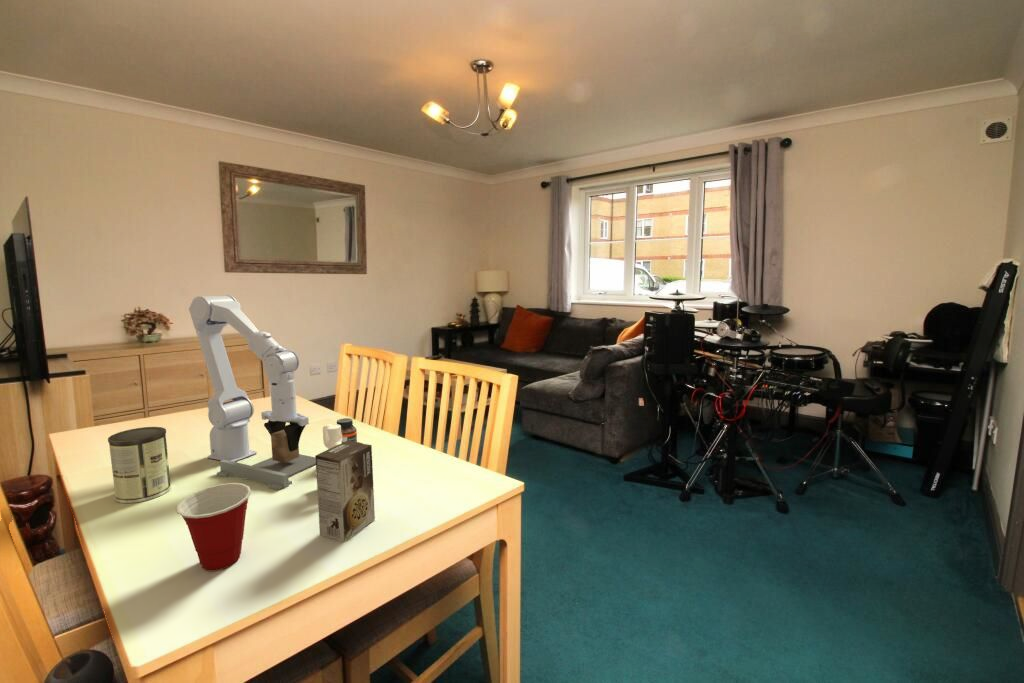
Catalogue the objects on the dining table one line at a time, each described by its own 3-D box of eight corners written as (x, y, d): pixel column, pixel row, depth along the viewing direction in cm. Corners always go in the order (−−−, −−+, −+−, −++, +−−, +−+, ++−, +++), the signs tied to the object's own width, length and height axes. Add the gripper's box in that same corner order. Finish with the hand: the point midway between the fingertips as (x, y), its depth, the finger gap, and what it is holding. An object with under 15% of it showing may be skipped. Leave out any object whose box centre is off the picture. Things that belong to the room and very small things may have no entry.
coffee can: (131, 485, 113) (126, 427, 111) (180, 482, 115) (175, 425, 113) (103, 505, 103) (96, 442, 101) (156, 502, 105) (150, 439, 103)
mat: (248, 468, 123) (248, 466, 123) (286, 453, 134) (286, 451, 134) (288, 477, 118) (288, 475, 118) (324, 461, 129) (324, 459, 129)
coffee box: (350, 514, 100) (347, 439, 98) (375, 520, 98) (373, 443, 95) (317, 535, 92) (313, 454, 90) (344, 542, 89) (340, 459, 87)
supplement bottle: (350, 465, 126) (348, 424, 124) (329, 464, 127) (327, 422, 125) (361, 457, 131) (360, 417, 130) (342, 455, 133) (340, 416, 131)
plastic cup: (166, 572, 80) (160, 504, 78) (225, 539, 90) (221, 479, 88) (213, 587, 76) (207, 516, 74) (269, 551, 86) (265, 488, 84)
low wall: (215, 474, 119) (214, 463, 119) (230, 469, 123) (229, 457, 123) (279, 490, 111) (278, 478, 110) (293, 483, 114) (292, 471, 114)
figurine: (329, 499, 106) (326, 434, 105) (313, 485, 113) (310, 424, 111) (360, 490, 111) (358, 427, 109) (343, 477, 118) (341, 418, 116)
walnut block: (272, 460, 124) (270, 434, 123) (286, 454, 128) (285, 429, 127) (285, 462, 123) (283, 436, 122) (299, 456, 127) (297, 431, 126)
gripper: (249, 398, 123) (253, 449, 125) (291, 404, 117) (294, 458, 119) (273, 392, 129) (276, 441, 131) (313, 398, 124) (316, 448, 125)
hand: (286, 448), depth 125 cm, fingers closed on walnut block, 4 cm apart
